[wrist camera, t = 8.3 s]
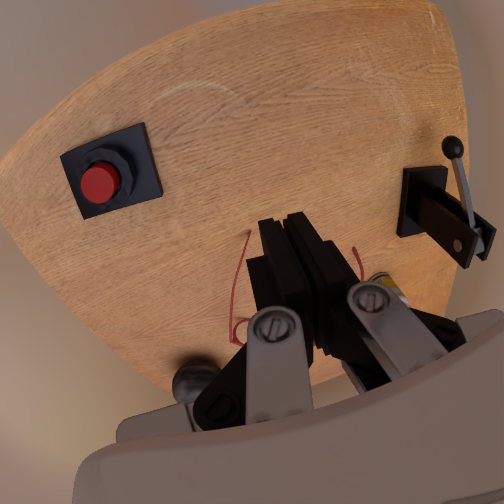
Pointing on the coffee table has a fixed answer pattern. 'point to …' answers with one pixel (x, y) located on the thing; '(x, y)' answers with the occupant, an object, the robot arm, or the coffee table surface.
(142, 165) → the control block
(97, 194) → the button
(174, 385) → the decorative stone
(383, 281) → the supplement bottle
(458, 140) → the lever
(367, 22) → the coffee table surface
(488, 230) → the bracket
